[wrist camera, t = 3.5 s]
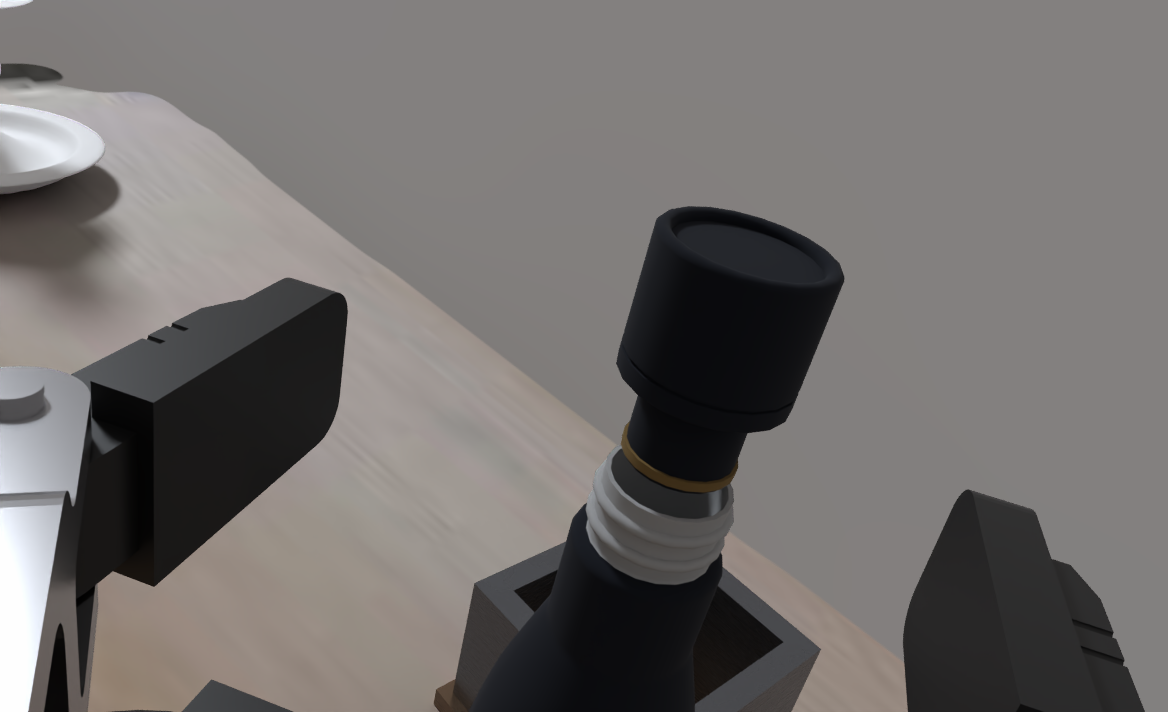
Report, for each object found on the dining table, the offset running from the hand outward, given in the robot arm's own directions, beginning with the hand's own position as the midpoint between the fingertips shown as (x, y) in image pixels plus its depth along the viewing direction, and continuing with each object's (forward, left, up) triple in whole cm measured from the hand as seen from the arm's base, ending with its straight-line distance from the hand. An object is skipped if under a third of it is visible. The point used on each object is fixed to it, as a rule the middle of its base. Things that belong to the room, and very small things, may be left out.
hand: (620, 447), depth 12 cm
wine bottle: (+6, +4, -30) cm, 31 cm away
